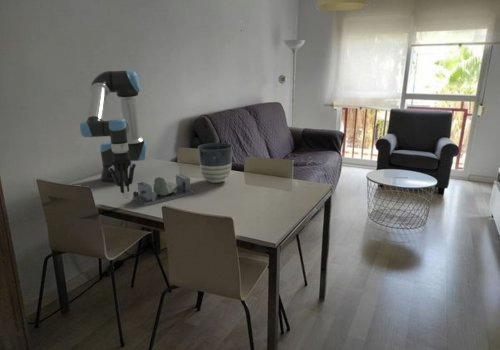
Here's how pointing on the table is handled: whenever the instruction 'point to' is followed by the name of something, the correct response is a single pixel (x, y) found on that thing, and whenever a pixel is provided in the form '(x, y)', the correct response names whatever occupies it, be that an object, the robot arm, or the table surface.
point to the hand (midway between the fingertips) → (125, 198)
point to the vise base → (181, 191)
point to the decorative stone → (163, 186)
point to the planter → (215, 161)
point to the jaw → (144, 191)
